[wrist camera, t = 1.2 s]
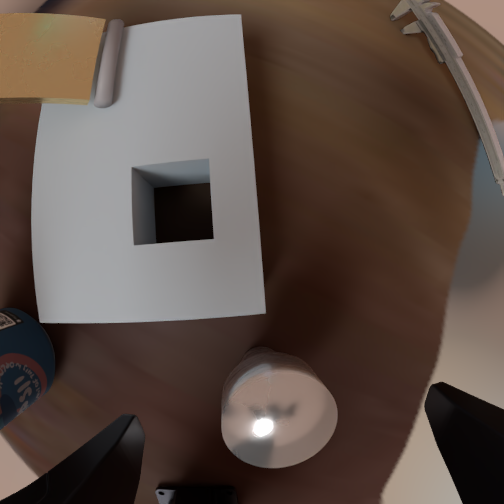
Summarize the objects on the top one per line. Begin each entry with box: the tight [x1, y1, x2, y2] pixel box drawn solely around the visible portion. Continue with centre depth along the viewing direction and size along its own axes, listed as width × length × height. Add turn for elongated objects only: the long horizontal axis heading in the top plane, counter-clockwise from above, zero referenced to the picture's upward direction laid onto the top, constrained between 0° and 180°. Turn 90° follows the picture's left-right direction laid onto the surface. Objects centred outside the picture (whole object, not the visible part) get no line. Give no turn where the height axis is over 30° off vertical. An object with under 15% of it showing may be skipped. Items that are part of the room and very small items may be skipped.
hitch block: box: [31, 15, 266, 323], centre depth 16 cm, size 17×12×6 cm
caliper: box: [390, 0, 504, 196], centre depth 18 cm, size 20×1×6 cm, turn 33°
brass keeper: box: [0, 13, 106, 105], centre depth 9 cm, size 6×11×1 cm
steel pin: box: [221, 346, 338, 468], centre depth 15 cm, size 5×5×8 cm
